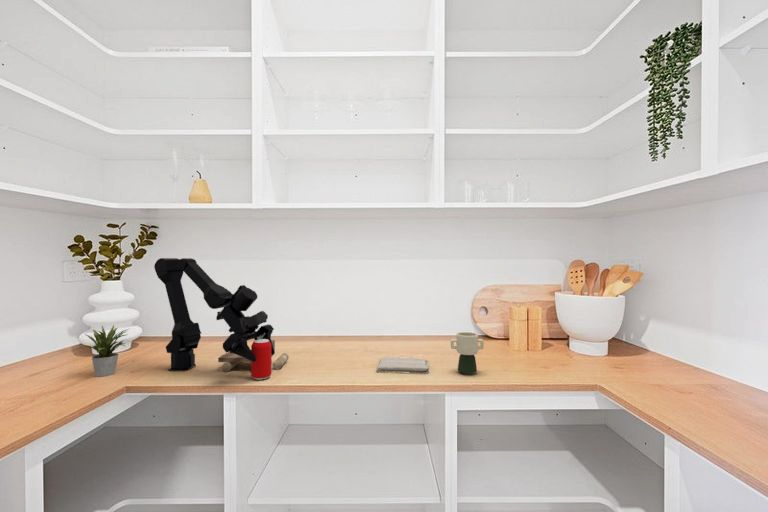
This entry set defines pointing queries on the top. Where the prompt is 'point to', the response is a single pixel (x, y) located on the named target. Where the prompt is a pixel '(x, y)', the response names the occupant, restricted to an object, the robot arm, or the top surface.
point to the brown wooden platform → (235, 359)
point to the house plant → (105, 352)
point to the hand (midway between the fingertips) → (264, 357)
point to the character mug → (467, 351)
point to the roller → (280, 361)
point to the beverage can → (261, 359)
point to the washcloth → (403, 365)
